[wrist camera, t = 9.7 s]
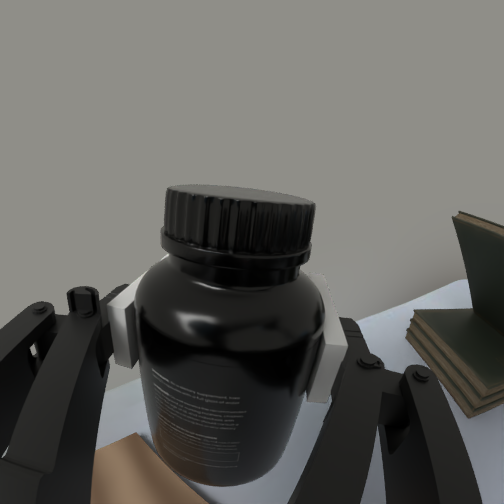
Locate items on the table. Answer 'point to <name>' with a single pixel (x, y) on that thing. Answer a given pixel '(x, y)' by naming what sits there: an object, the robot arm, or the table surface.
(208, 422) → the supplement bottle
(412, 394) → the robot arm
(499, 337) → the stacked books
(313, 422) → the table surface
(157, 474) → the walnut board
